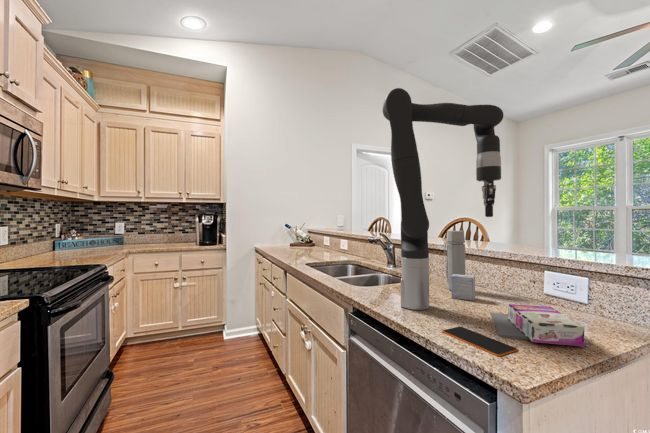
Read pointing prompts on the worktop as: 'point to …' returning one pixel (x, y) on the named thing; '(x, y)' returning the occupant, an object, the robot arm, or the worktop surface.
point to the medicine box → (463, 287)
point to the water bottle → (454, 255)
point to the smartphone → (480, 341)
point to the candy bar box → (546, 325)
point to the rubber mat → (508, 327)
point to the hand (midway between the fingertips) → (489, 216)
